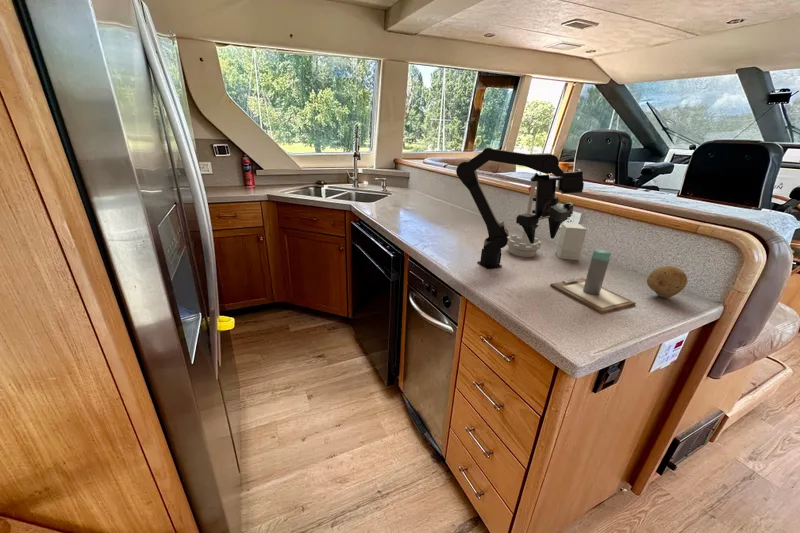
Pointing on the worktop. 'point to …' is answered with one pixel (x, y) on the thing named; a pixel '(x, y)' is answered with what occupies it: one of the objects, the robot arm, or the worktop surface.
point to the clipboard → (592, 296)
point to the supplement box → (570, 241)
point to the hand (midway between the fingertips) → (542, 240)
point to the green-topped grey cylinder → (596, 271)
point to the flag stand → (524, 234)
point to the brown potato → (667, 281)
